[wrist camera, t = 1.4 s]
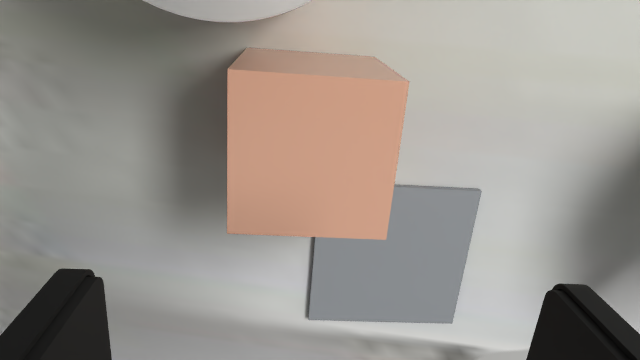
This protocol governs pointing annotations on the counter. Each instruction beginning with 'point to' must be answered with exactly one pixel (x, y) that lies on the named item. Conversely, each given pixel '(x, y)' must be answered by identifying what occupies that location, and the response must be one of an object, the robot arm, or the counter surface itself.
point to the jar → (228, 8)
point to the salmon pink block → (312, 144)
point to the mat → (399, 261)
